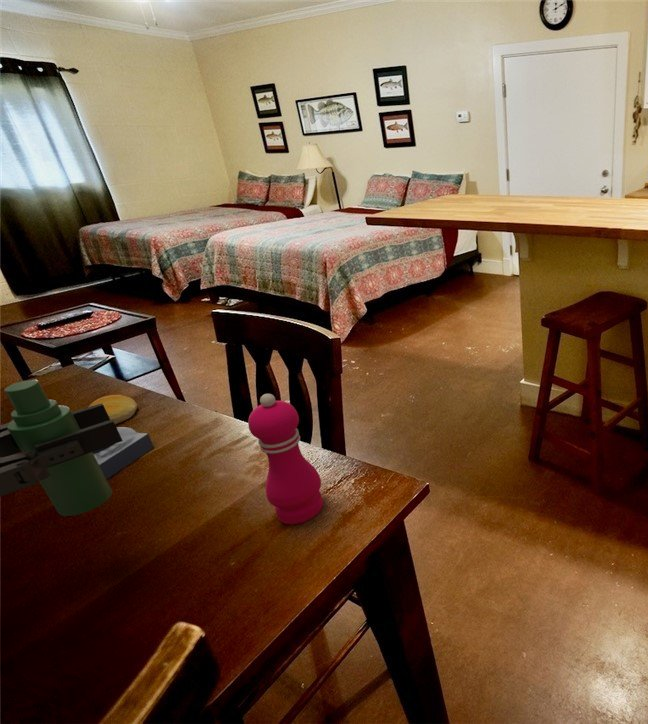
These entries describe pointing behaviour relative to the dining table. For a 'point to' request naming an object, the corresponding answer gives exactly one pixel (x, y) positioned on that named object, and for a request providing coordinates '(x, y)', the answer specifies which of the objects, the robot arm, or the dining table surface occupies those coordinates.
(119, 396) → the bread roll
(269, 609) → the dining table surface
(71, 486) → the bottle
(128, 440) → the hole board
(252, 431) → the pepper mill
